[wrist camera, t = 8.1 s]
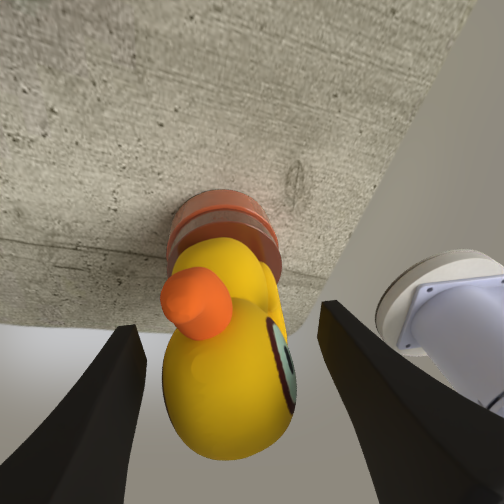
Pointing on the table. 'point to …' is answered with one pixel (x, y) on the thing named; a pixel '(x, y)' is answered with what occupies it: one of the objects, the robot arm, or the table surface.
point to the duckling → (226, 352)
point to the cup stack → (224, 227)
